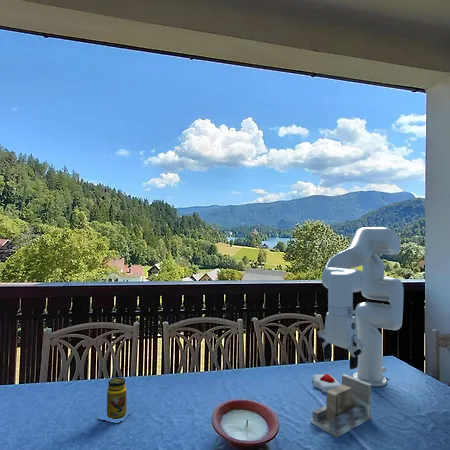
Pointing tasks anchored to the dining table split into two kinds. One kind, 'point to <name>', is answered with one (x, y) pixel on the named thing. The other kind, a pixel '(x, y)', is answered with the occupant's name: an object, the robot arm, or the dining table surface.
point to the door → (338, 401)
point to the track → (355, 401)
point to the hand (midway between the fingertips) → (340, 363)
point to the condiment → (116, 398)
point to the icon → (325, 382)
